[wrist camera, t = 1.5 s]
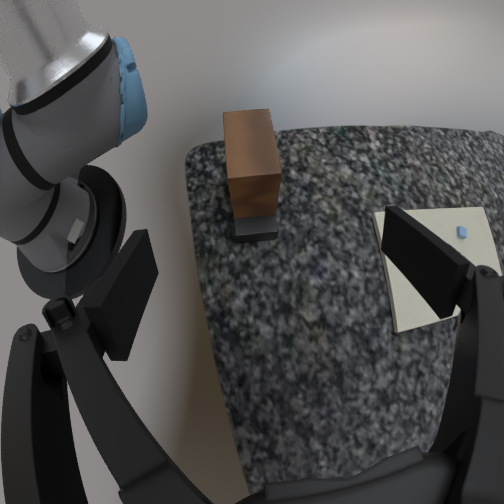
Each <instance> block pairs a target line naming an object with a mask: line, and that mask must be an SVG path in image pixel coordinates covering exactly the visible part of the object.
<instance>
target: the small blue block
mask: <svg viewBox="0 0 504 504" xmlns="http://www.w3.org/2000/svg"><path fill="white" fill-rule="evenodd" d="M456 229H457V237H459V238H461V239H465V238H467V228H465V227H462V226H458V227H457V228H456Z"/></svg>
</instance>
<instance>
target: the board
mask: <svg viewBox="0 0 504 504" xmlns="http://www.w3.org/2000/svg"><path fill="white" fill-rule="evenodd" d="M404 211H405V212H406V213H408V214H409V215H410V216H412V217H413V218H414V219H416V220H417V221H419V222H420V223H421V224H423V225H424V226H425V227H427V228H428V229H429V230H431V231H432V232H433V233H435V234H436V235H437V236H438V237H440V238H441V239H442V240H444V241H445V242H446V243H448V244H450V245H451V246H452V247H454V248H455V249H456V251H459V252H460V253H461V255H463V256H465V257H466V258H467V259H468V260H469V261H470V262H472V263H473V264H474V265H475V266H477V265H486V266H489V267H491V268H492V269H494V270H495V271H496V272H497V273H498V275H499V276H502V275H501V270H500V265H499V261H498V257H497V252H496V249H495V245H494V241H493V237H492V234H491V231H490V227H489V224H488V221H487V218H486V215H485V212H484V209H483V207H468V208H443V209H422V210H404ZM384 217H385V212H374V213H373V214H372V219H373V223H374V227H375V231H376V235H377V239H378V243H379V248H380V252H381V257H382V261H383V266H384V271H385V276H386V281H387V287H388V293H389V299H390V305H391V311H392V318H393V325H394V332H395V333H398V332H402V331H406V330H410V329H414V328H417V327H421V326H424V325H428V324H431V323H435V322H438V321H442V320H445V319H448V318H451V317H454V316H457V315H459V313H460V310H461V309H460V308H459V307H458V306H457V305H456V307H455V310H454V312H453V315H452V316H451V317H447V318H444V319H441V320H440V319H439V317H438V316H437V315H436V314H435V312H434V311H433V310H432V309H431V307H430V306H429V305H428V304H427V302H426V301H425V300H424V299H423V298H422V296H421V295H420V294H419V293H418V292H417V290H416V289H415V288H414V287H413V286H412V284H411V283H410V282H409V281H408V280H407V279H406V277H405V276H404V275H403V274H402V273H401V272H400V271H399V269H398V268H397V267H396V266H395V265H394V264H393V263H392V262H391V260H390V259H389V258H388V257H387V256H386V255H385V254H384V253H383V252H382V251H381V243H382V235H383V226H384ZM458 226H462V227H465V228H467V238H465V239H461V238H459V237H457V229H456V228H457V227H458Z"/></svg>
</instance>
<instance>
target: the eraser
mask: <svg viewBox="0 0 504 504" xmlns="http://www.w3.org/2000/svg"><path fill="white" fill-rule="evenodd" d="M223 125H224V140H225V154H226V167H227V179H228V185H229V191H230V197H231V203H232V209H233V215H234V223H235V234H236V240H237V243H243V242H253V241H263V240H273V239H276V238H277V234H278V228H277V221H276V208H277V202H278V195H279V189H280V183H281V176H282V171H281V165H280V160H279V155H278V150H277V145H276V140H275V135H274V130H273V125H272V121H271V116H270V111H269V109H257V110H244V111H233V112H224V113H223Z"/></svg>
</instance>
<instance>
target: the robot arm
mask: <svg viewBox="0 0 504 504" xmlns="http://www.w3.org/2000/svg"><path fill="white" fill-rule="evenodd" d="M0 64H1V65H2V67H3V68H4V70H5V71H6V72H7V74H8V75H9V77H10V86H9V91H8V96H7V101H8V103H9V105H10V106H11V108H9V109H8V110H7V111H6V112H5V113H3V114H2V113H1V110H0V236H1V237H2V238H4V239H6V240H9V241H10V242H12V243H14V244H16V245H17V247H18V248H19V249H20V250H21V252H22V253H23V254H24V255H25V256H26V257H27V259H28V260H29V261H30V262H31V263H32V264H33V265H34V266H35V267H36V268H38V269H40V270H42V271H44V272H47V273H50V274H58V273H62V272H65V271H67V270H69V269H71V268H72V267H74V266H75V265H76V264H77V263H78V262H79V261H80V260H81V259H82V258H83V257H84V256H85V254H86V253H87V252H88V250H89V249H90V247H91V245H92V243H93V241H94V239H95V236H96V233H97V230H98V226H99V219H100V209H99V203H98V200H97V197H96V195H95V194H94V192H93V191H92V190H91V189H90V188H89V187H88V186H87V185H86V184H84V183H83V182H81V181H79V180H77V179H74V178H71V177H69V176H70V175H71V174H73V173H74V172H76V171H77V170H79V169H80V168H82V167H83V166H85V165H86V164H88V163H89V162H91V161H93V160H94V159H96V158H97V157H99V156H101V155H102V154H104V153H106V152H107V151H109V150H111V149H112V148H114V147H118V146H119V145H120V144H121V143H122V142H123V141H124V140H126V139H128V138H129V137H131V136H133V135H134V134H136V133H138V132H139V131H140V130H141V129H142V128H143V126H144V125H145V123H146V121H147V106H146V99H145V95H144V90H143V86H142V83H141V78H140V75H139V72H138V70H137V69H136V64H135V59H134V55H133V53H132V50H131V48H130V45H129V43H128V42H127V40H126V39H125V38H123V37H119V38H113V39H111V38H110V36H109V33H108V31H107V29H106V28H104V27H99V26H94V25H89V24H87V23H86V20H85V18H84V16H83V13H82V11H81V8H80V6H79V4H78V1H77V0H0ZM381 251H382V252H383V253H384V254H385V255H386V256H387V257H388V258H389V259H390V260H391V262H392V263H393V264H394V265H395V266H396V267H397V268H398V269H399V271H400V272H401V273H402V274H403V275H404V276H405V277H406V279H407V280H408V281H409V282H410V283H411V284H412V286H413V287H414V288H415V289H416V290H417V292H418V293H419V294H420V295H421V296H422V298H423V299H424V300H425V301H426V302H427V304H428V305H429V306H430V307H431V309H432V310H433V311H434V312H435V314H436V315H437V316H438V317H439V319H440V320H441V319H444V318H447V317H451V316H452V315H453V312H454V310H455V307H456V305H457V306H458V307H459V308H460V309H461V310H460V313H459V315H458V318H457V320H456V322H455V325H454V327H453V330H455V328H456V327H457V334H456V344H455V352H454V359H453V366H452V372H451V378H450V383H449V388H448V393H447V398H446V402H445V407H444V411H443V415H442V419H441V422H440V426H439V430H438V433H437V436H436V439H435V441H434V443H433V445H432V447H431V448H430V450H429V452H422V453H421V450H420V448H419V445H418V446H416V447H413V448H411V449H408V450H406V451H403V452H401V453H398V454H395V455H392V456H390V457H387V458H385V459H383V460H382V461H380V462H378V463H377V464H375V465H373V466H372V467H370V468H368V469H366V470H365V471H363V472H361V473H359V474H357V475H355V476H353V477H351V478H343V479H314V478H304V479H298V480H292V481H285V482H277V483H267V484H264V486H265V490H264V491H261V492H258V493H255V494H253V495H250V496H248V497H246V498H244V499H242V500H241V501H238V502H237V503H236V504H504V276H499V275H498V273H497V272H496V271H495V270H494V269H492V268H491V267H489V266H486V265H477V266H475V265H474V264H473V263H472V262H470V261H469V260H468V259H467V258H466V257H465V256H463V255H461V253H460V252H459V251H456V249H455V248H454V247H452V246H451V245H450V244H448V243H446V242H445V241H444V240H442V239H441V238H440V237H438V236H437V235H436V234H435V233H433V232H432V231H431V230H429V229H428V228H427V227H425V226H424V225H423V224H421V223H420V222H419V221H417V220H416V219H414V218H413V217H412V216H410V215H409V214H408V213H406V212H405V211H403V210H402V209H400V208H399V207H398V206H385V217H384V226H383V235H382V243H381ZM157 276H158V269H157V266H156V262H155V258H154V254H153V250H152V247H151V243H150V239H149V234H148V230H147V229H144V230H136V231H134V232H133V233H132V235H131V236H130V237H129V239H128V240H127V241H126V243H125V244H124V246H123V247H122V248H121V250H120V251H119V253H118V254H117V256H116V257H115V258H114V260H113V261H112V263H111V264H110V266H109V267H108V269H107V270H106V272H105V273H104V275H103V276H102V277H98V278H97V279H96V280H95V281H94V282H92V283H91V284H90V286H89V287H88V289H87V290H86V291H87V292H85V293H84V295H83V298H81V300H80V301H79V303H78V304H77V306H76V308H75V306H74V304H73V301H72V299H71V298H70V297H69V296H67V295H61V296H58V297H55V298H53V299H52V300H50V301H49V302H48V303H47V304H46V305H45V306H44V307H43V309H42V314H43V316H44V317H45V319H46V321H47V323H48V325H49V327H50V328H51V330H49V331H45V332H41V333H40V331H39V330H38V328H37V327H36V325H35V324H27V325H25V326H22V327H21V328H19V329H18V331H17V332H16V333H15V335H14V337H13V341H12V345H11V350H10V356H9V361H8V367H7V373H6V380H5V387H4V397H3V407H2V422H1V423H2V424H1V462H2V476H3V486H4V495H5V502H6V504H88V501H87V498H86V494H85V491H84V487H83V483H82V479H81V475H80V471H79V466H78V462H77V457H76V452H75V447H74V441H73V434H72V428H71V420H70V412H69V402H68V391H67V381H68V384H69V387H70V389H71V392H72V394H73V397H74V399H75V402H76V404H77V407H78V409H79V411H80V414H81V416H82V418H83V420H84V423H85V425H86V426H87V429H88V431H89V433H90V435H91V437H92V439H93V441H94V443H95V445H96V447H97V449H98V451H99V452H100V454H101V456H102V458H103V460H104V462H105V463H106V465H107V466H108V469H109V470H110V472H111V474H112V475H113V477H114V478H115V480H116V482H117V483H118V485H119V488H120V490H119V492H118V494H119V497H120V499H121V501H122V502H123V504H213V503H212V502H211V501H210V500H209V499H208V498H207V497H206V496H205V495H204V494H203V493H201V491H200V490H199V489H197V487H196V486H195V485H194V484H193V483H192V482H191V481H190V480H189V479H188V478H187V477H186V476H185V474H184V473H183V472H182V471H181V470H180V469H179V468H178V466H177V465H176V464H175V463H174V462H173V461H172V459H171V458H170V457H169V456H168V455H167V453H166V452H165V451H164V450H163V449H162V447H161V446H160V445H159V444H158V442H157V441H156V439H155V438H154V437H153V436H152V434H151V433H150V432H149V430H148V429H147V427H146V426H145V425H144V423H143V422H142V421H141V419H140V418H139V416H138V415H137V413H136V412H135V410H134V409H133V407H132V406H131V404H130V403H129V401H128V400H127V398H126V397H125V395H124V394H123V392H122V390H121V389H120V387H119V386H118V384H117V382H116V381H115V379H114V377H113V376H112V374H111V372H110V370H109V369H108V367H107V365H106V363H105V362H104V360H103V355H104V353H105V351H106V353H107V354H108V356H109V358H110V360H111V361H127V360H128V357H129V354H130V351H131V348H132V344H133V341H134V339H135V336H136V333H137V330H138V327H139V324H140V321H141V318H142V316H143V313H144V310H145V307H146V305H147V302H148V299H149V297H150V294H151V291H152V289H153V286H154V283H155V281H156V278H157Z"/></svg>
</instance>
